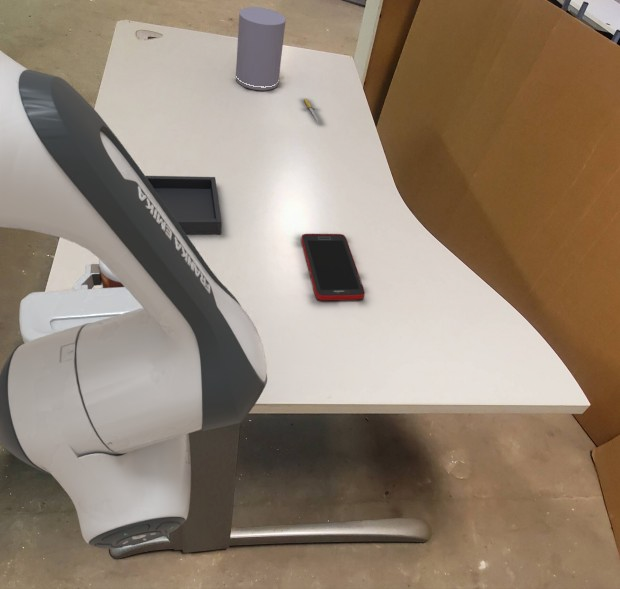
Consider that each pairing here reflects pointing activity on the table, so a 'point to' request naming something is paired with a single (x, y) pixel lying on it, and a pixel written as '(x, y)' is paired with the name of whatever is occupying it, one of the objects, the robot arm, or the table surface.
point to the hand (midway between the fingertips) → (129, 266)
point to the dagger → (311, 109)
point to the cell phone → (332, 267)
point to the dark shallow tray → (190, 202)
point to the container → (259, 47)
